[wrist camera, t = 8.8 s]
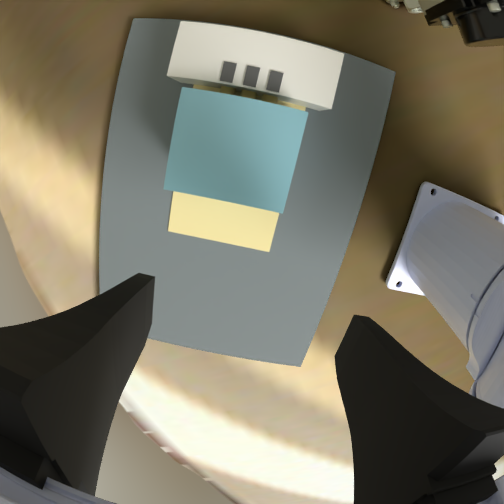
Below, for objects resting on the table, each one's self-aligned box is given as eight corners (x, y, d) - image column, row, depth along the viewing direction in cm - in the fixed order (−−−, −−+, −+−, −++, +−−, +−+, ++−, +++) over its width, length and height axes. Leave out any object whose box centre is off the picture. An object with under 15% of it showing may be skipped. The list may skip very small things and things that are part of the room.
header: (330, 63, 15) (344, 53, 12) (306, 160, 17) (316, 167, 15) (192, 35, 14) (180, 20, 12) (170, 132, 17) (154, 134, 14)
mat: (390, 73, 16) (396, 71, 15) (299, 360, 24) (300, 367, 23) (137, 21, 15) (132, 17, 14) (105, 319, 23) (100, 326, 22)
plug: (295, 114, 16) (308, 112, 12) (276, 191, 18) (282, 213, 14) (200, 95, 16) (182, 87, 12) (185, 172, 18) (163, 189, 13)
